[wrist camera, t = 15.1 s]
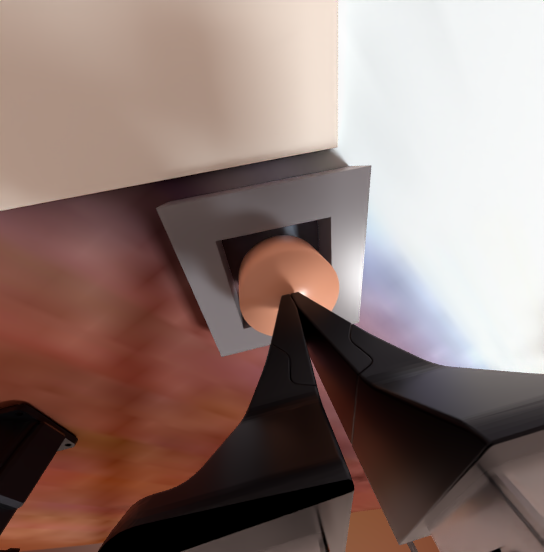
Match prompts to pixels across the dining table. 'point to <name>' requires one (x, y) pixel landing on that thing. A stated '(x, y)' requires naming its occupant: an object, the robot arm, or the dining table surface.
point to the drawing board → (158, 90)
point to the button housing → (261, 217)
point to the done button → (282, 279)
